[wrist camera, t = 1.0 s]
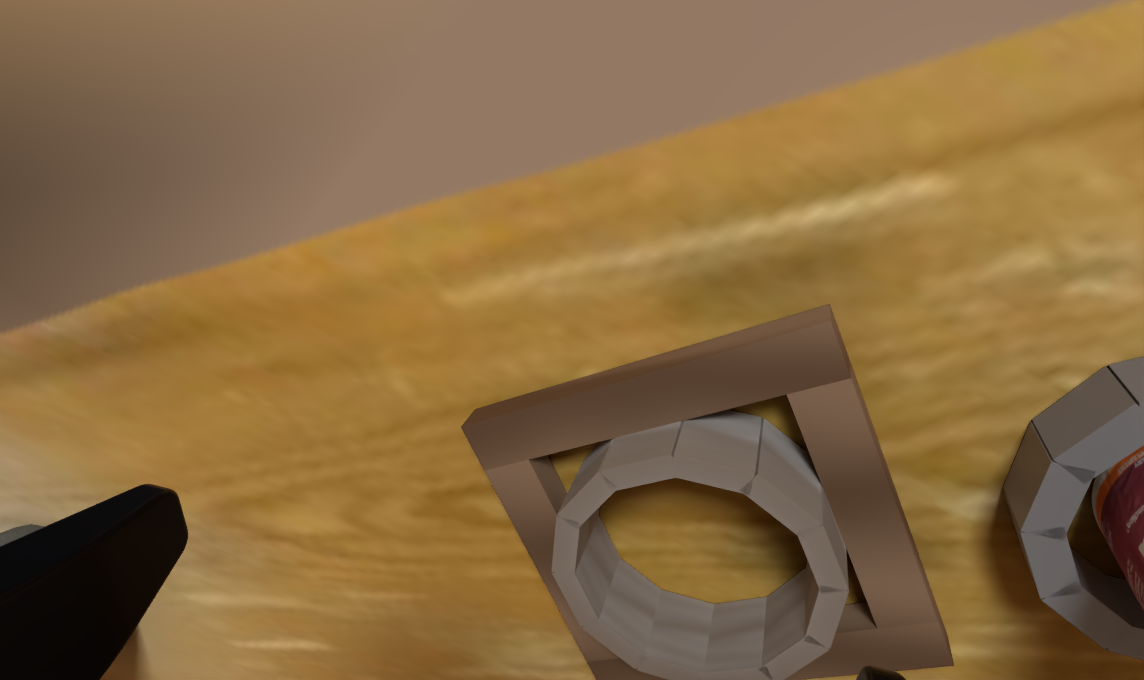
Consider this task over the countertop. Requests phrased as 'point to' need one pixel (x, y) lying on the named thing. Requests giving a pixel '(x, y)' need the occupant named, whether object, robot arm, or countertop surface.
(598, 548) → the socket board
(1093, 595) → the holder
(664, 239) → the countertop surface
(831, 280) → the countertop surface
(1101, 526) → the pill bottle
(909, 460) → the countertop surface
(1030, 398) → the countertop surface
